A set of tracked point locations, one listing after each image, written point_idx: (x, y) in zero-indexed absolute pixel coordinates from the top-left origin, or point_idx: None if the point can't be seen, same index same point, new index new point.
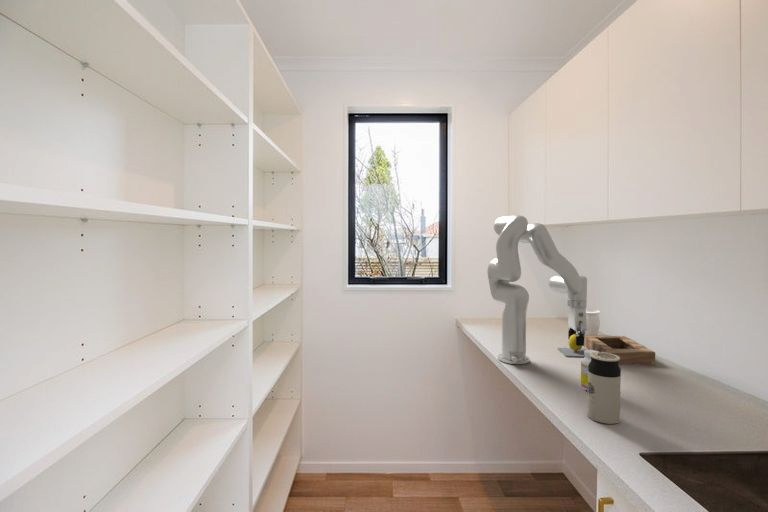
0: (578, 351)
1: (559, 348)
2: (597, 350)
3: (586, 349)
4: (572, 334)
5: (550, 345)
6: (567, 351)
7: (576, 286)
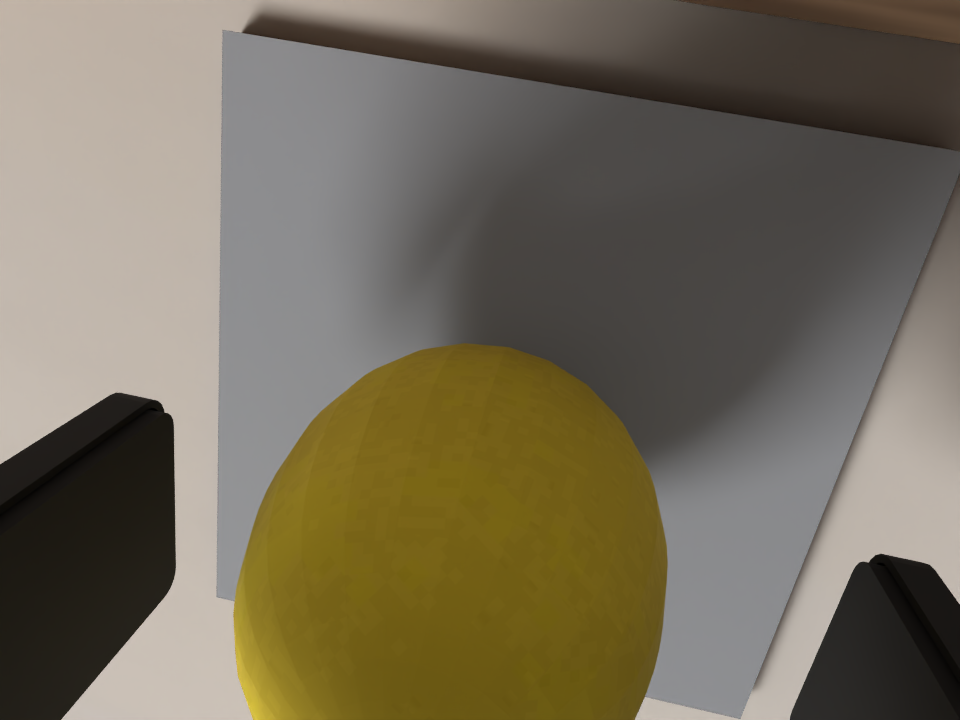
0: None
1: None
2: (887, 3)
3: (310, 47)
4: (63, 619)
5: None
6: None
7: None
